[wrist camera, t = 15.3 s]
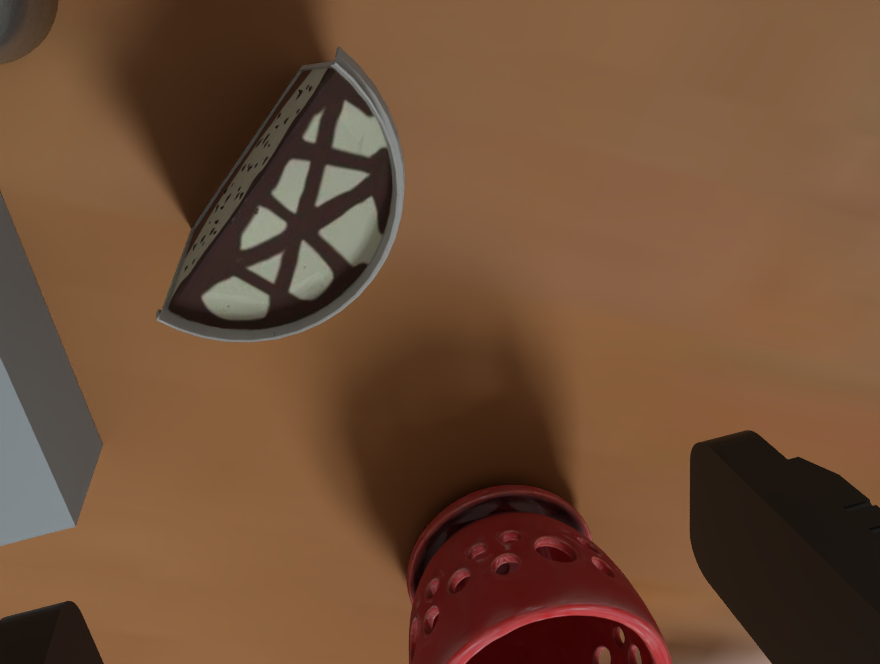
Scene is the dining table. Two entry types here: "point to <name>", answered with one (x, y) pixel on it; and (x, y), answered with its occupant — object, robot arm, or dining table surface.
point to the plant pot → (521, 587)
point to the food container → (295, 214)
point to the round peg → (24, 26)
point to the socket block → (37, 408)
